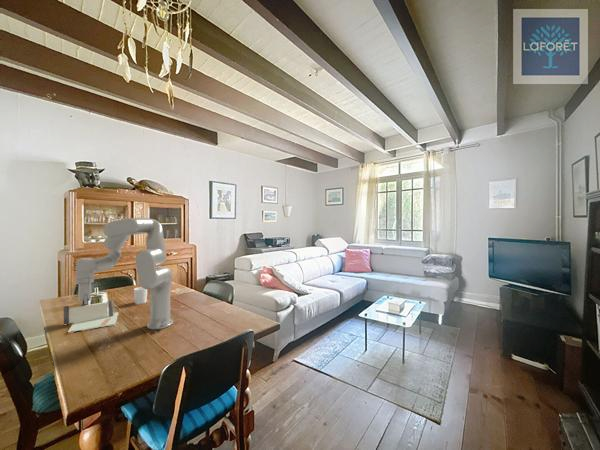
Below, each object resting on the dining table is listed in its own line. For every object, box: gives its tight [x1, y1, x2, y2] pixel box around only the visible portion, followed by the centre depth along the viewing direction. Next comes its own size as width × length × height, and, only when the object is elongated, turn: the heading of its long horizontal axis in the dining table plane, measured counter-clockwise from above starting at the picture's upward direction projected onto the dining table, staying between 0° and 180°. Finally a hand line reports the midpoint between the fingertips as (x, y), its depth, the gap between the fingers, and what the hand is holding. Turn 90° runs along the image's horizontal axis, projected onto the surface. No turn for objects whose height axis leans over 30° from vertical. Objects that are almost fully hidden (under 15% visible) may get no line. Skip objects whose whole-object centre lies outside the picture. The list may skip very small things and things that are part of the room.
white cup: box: [133, 286, 148, 305], centre depth 166 cm, size 8×8×10 cm
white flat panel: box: [69, 301, 108, 325], centre depth 134 cm, size 16×1×8 cm, turn 130°
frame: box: [63, 299, 119, 332], centre depth 132 cm, size 19×23×10 cm
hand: (85, 312), depth 136 cm, fingers closed
